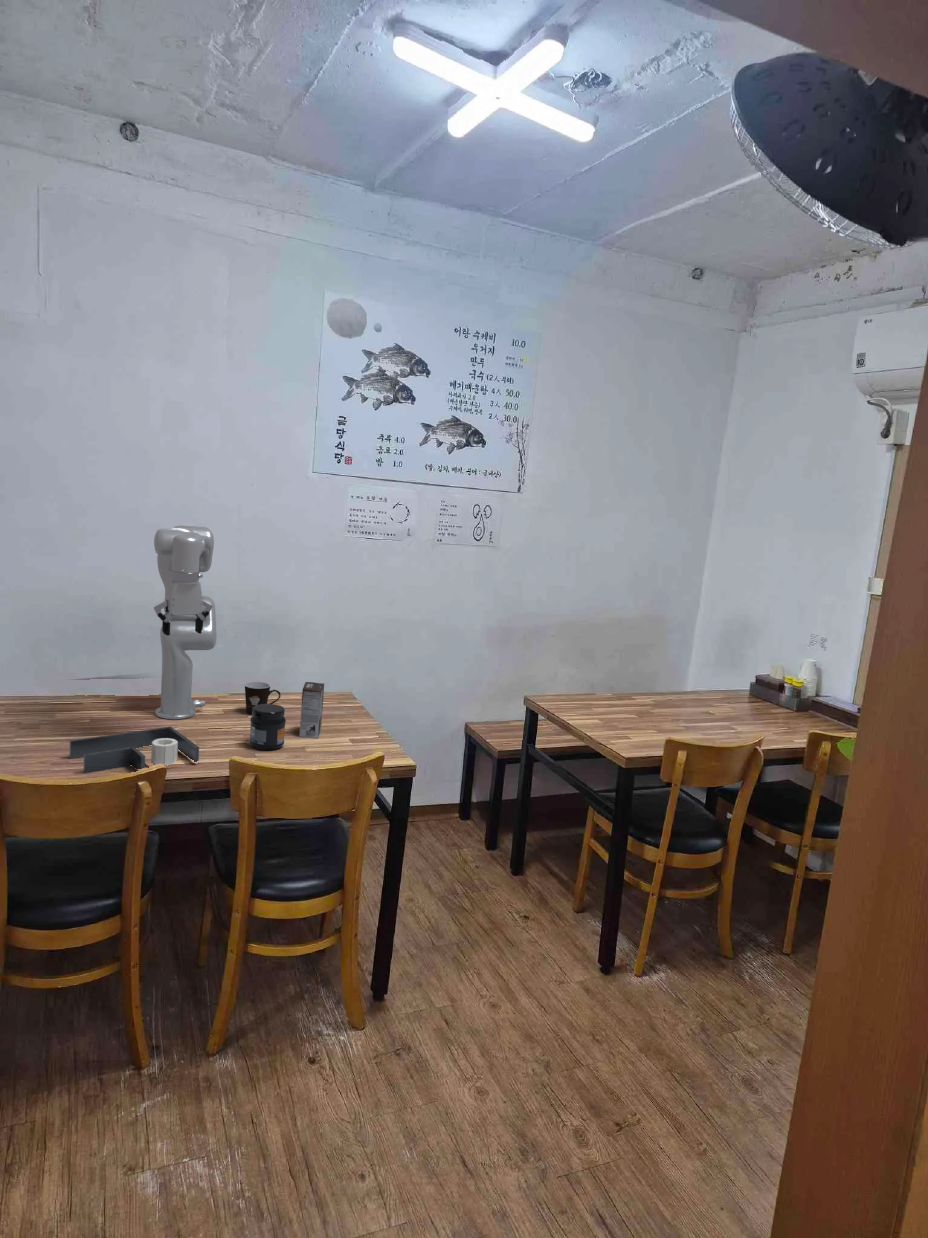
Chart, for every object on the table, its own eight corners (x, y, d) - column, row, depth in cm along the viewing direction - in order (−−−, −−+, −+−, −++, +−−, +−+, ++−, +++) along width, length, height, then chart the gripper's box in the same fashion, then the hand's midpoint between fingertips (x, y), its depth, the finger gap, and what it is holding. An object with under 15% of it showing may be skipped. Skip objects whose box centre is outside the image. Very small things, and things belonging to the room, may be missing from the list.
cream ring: (170, 757, 219) (171, 737, 218) (180, 764, 215) (180, 743, 214) (148, 760, 215) (148, 740, 214) (157, 768, 210) (157, 747, 209)
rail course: (170, 742, 231) (170, 726, 230) (198, 764, 217) (199, 747, 216) (69, 757, 212) (69, 740, 211) (93, 782, 198) (93, 764, 197)
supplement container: (290, 743, 241) (292, 706, 239) (274, 753, 231) (276, 715, 229) (259, 737, 243) (261, 701, 241) (242, 747, 233) (244, 709, 231)
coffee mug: (237, 713, 264) (239, 685, 263) (253, 707, 272) (255, 680, 271) (265, 720, 260) (267, 691, 259) (280, 714, 268) (282, 686, 266)
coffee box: (302, 728, 256) (305, 681, 253) (321, 729, 257) (325, 682, 254) (298, 737, 247) (301, 688, 244) (318, 738, 248) (322, 690, 245)
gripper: (207, 574, 235) (205, 629, 239) (150, 575, 224) (148, 632, 227) (218, 579, 230) (215, 634, 233) (160, 579, 218) (158, 638, 222)
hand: (182, 633), depth 230 cm, fingers open, 9 cm apart
